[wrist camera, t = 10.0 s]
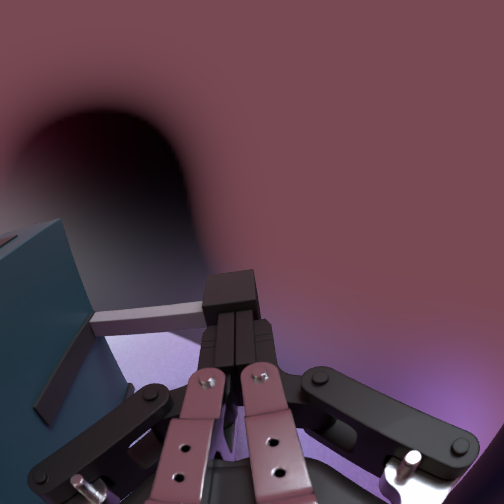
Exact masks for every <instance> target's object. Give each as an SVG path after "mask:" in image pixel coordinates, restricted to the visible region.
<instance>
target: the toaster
mask: <svg viewBox="0 0 504 504" xmlns="http://www.w3.org/2000/svg"><path fill="white" fill-rule="evenodd" d="M93 315H94V311H93V309H92V306H91V304H90V302H89V299H88V297H87V294H86V291H85V289H84V286H83V283H82V281H81V278H80V275H79V272H78V270H77V267H76V264H75V261H74V258H73V255H72V252H71V249H70V246H69V243H68V239H67V236H66V233H65V230H64V226H63V222H62V219H61V218H59V219H55V220H51V221H47V222H44V223H40V224H37V225H33V226H29V227H25V228H22V229H19V230H15V231H12V232H8V233H5V234H2V235H0V504H47V503H45V502H44V501H43V499H41V498H40V497H39V496H38V495H36V494H35V493H34V492H33V491H31V489H30V488H29V486H28V484H27V476H28V473H29V471H30V470H31V469H32V468H33V467H34V466H35V465H37V464H38V463H40V462H41V461H43V460H44V459H45V458H47V457H48V456H50V455H51V454H53V453H54V452H55V451H57V450H58V449H60V448H61V447H62V446H64V445H65V444H67V443H68V442H69V441H71V440H72V439H74V438H75V437H76V436H78V435H79V434H81V433H82V432H83V431H85V430H86V429H87V428H89V427H90V426H92V425H93V424H94V423H96V422H97V421H98V420H100V419H101V418H102V417H104V416H105V415H106V414H108V413H109V412H110V411H112V410H113V409H114V408H116V407H117V406H118V405H120V404H121V403H122V402H124V401H125V400H126V399H128V398H129V397H130V396H132V395H133V393H134V390H135V388H134V386H133V384H132V383H127V382H126V380H125V378H124V376H123V374H122V372H121V370H120V368H119V366H118V364H117V362H116V360H115V358H114V356H113V354H112V352H111V350H110V348H109V345H108V343H107V341H106V339H105V337H104V336H97V337H96V336H95V334H94V332H93V330H92V327H91V325H90V323H89V322H90V320H91V318H92V317H93Z"/></svg>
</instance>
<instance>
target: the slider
mask: <svg viewBox="0 0 504 504" xmlns="http://www.w3.org/2000/svg"><path fill="white" fill-rule="evenodd" d="M251 309H252V310H253V316H254V320H260V319H261V315H260V308H259V301H258V296H257V289H256V282H255V276H254V270H253V269H250V270H243V271H236V272H229V273H222V274H215V275H208V276H207V281H206V286H205V291H204V296H203V301H199V302H192V303H183V304H175V305H165V306H156V307H146V308H137V309H128V310H116V311H105V312H96V313H95V314H94V315H93V317H92V318H91V320H90V322H89V323H90V325H91V327H92V330H93V332H94V334H95V336H96V337H97V336H116V335H131V334H145V333H157V332H169V331H179V330H189V329H199V328H207V327H208V326H213V325H217V324H218V315H219V314H221V313H229V312H235V313H236V311H243V310H251Z"/></svg>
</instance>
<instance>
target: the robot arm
mask: <svg viewBox="0 0 504 504" xmlns="http://www.w3.org/2000/svg"><path fill="white" fill-rule="evenodd" d="M237 406H244V407H245V427H246V434H247V441H248V449H249V456H250V457H249V458H246V459H242V460H239V461H235V452H236V441H237V429H238V419H237ZM150 428H151V431H150V432H149V433H148V434H146V435H145V436H144V437H143V438H141V439H140V440H139V441H138V442H137V443H135V444H134V445H133V446H132V447H130V448H129V446H130V445H131V444H132V443H133V442H134V441H135V440H137V439H138V438H139V437H140V436H142V435H143V434H144V433H145V432H146V431H148V430H149V429H150ZM296 428H302V429H304V431H305V432H306V433H307V434H308V435H310V436H311V437H313V438H314V439H316V440H317V441H319V442H320V443H322V444H323V445H325V446H326V447H328V448H330V449H331V450H333V451H334V452H336V453H338V454H339V455H341V456H342V457H344V458H346V459H347V460H349V461H351V462H352V463H354V464H356V465H357V466H359V467H361V468H363V469H364V470H366V471H368V472H370V473H371V474H373V475H375V476H377V477H379V478H380V481H379V490H380V492H381V494H382V495H383V496H384V497H386V498H387V499H388V500H389V501H390V502H391V504H442V502H443V501H444V499H445V498H446V496H447V494H448V493H449V491H450V490H451V489H452V487H453V486H454V485H455V484H456V483H457V482H458V480H459V479H460V478H461V477H462V476H463V474H464V473H465V472H466V471H467V470H468V468H469V467H470V466H471V465H472V463H473V462H474V461H475V459H476V458H477V456H478V454H479V451H480V445H479V441H478V439H477V438H476V437H475V436H474V435H473V434H472V433H470V432H468V431H466V430H463V429H461V428H459V427H456V426H454V425H451V424H449V423H447V422H444V421H442V420H439V419H437V418H435V417H433V416H430V415H428V414H426V413H423V412H421V411H419V410H417V409H415V408H413V407H410V406H408V405H406V404H404V403H402V402H399V401H397V400H395V399H393V398H391V397H389V396H387V395H385V394H382V393H380V392H378V391H376V390H374V389H372V388H370V387H368V386H366V385H364V384H362V383H360V382H358V381H356V380H354V379H352V378H350V377H348V376H346V375H344V374H342V373H340V372H338V371H336V370H334V369H332V368H329V367H325V366H319V367H314V368H311V369H309V370H307V371H306V372H305V373H304V374H303V375H302V376H299V375H291V374H288V373H285V372H284V371H282V370H281V369H280V368H279V367H278V364H277V359H276V352H275V346H274V340H273V333H272V327H271V324H270V323H269V322H268V321H267V320H266V319H260V320H254V316H253V310H252V309H251V310H243V311H236V313H235V312H229V313H221V314H219V315H218V324H217V325H213V326H208V327H207V329H206V330H205V331H204V333H203V336H202V343H201V349H200V356H199V362H198V369H197V371H196V372H195V373H194V374H193V375H192V376H191V377H190V379H189V382H188V384H187V385H185V386H183V387H180V388H177V389H174V390H170V391H169V390H168V388H167V387H166V386H164V385H162V384H156V383H154V384H149V385H146V386H144V387H142V388H141V389H140V390H138V391H137V392H136V393H134V394H133V395H132V396H130V397H129V398H128V399H126V400H125V401H124V402H122V403H121V404H120V405H118V406H117V407H116V408H114V409H113V410H112V411H110V412H109V413H108V414H106V415H105V416H104V417H102V418H101V419H100V420H98V421H97V422H96V423H94V424H93V425H92V426H90V427H89V428H87V429H86V430H85V431H83V432H82V433H81V434H79V435H78V436H76V437H75V438H74V439H72V440H71V441H69V442H68V443H67V444H65V445H64V446H62V447H61V448H60V449H58V450H57V451H55V452H54V453H53V454H51V455H50V456H48V457H47V458H45V459H44V460H43V461H41V462H40V463H38V464H37V465H35V466H34V467H33V468H32V469H31V470H30V471H29V473H28V476H27V484H28V486H29V488H30V489H31V491H33V492H34V493H35V494H36V495H38V496H39V497H40V498H41V499H43V501H44V502H45V503H47V504H388V503H386V502H385V501H383V500H381V499H380V498H378V497H376V496H375V495H373V494H372V493H370V492H368V491H367V490H365V489H364V488H362V487H360V486H359V485H357V484H356V483H354V482H353V481H351V480H350V479H348V478H347V477H345V476H344V475H342V474H341V473H339V472H338V471H336V470H335V469H334V468H332V467H331V466H329V465H327V464H325V463H323V462H321V461H318V460H316V459H312V458H308V457H304V455H303V451H302V448H301V444H300V441H299V437H298V433H297V430H296ZM128 448H129V449H128ZM132 491H133V492H132ZM131 492H132V493H131ZM130 493H131V494H130ZM127 495H128V496H127ZM126 496H127V497H126ZM125 497H126V498H125ZM124 498H125V499H124ZM122 499H124V500H122ZM121 500H122V501H121ZM120 501H121V502H120Z"/></svg>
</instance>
